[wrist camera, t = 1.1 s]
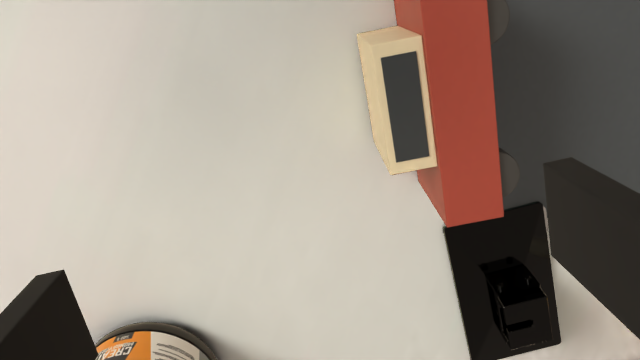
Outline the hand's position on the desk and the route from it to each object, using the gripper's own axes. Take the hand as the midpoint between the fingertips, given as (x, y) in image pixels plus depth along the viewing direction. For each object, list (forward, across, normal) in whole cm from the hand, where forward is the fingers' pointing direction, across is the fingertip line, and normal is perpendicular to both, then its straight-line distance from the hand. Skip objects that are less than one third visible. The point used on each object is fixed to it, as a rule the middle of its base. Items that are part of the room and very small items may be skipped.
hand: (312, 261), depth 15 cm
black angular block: (+22, +12, -16) cm, 30 cm away
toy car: (+21, +8, 0) cm, 23 cm away
